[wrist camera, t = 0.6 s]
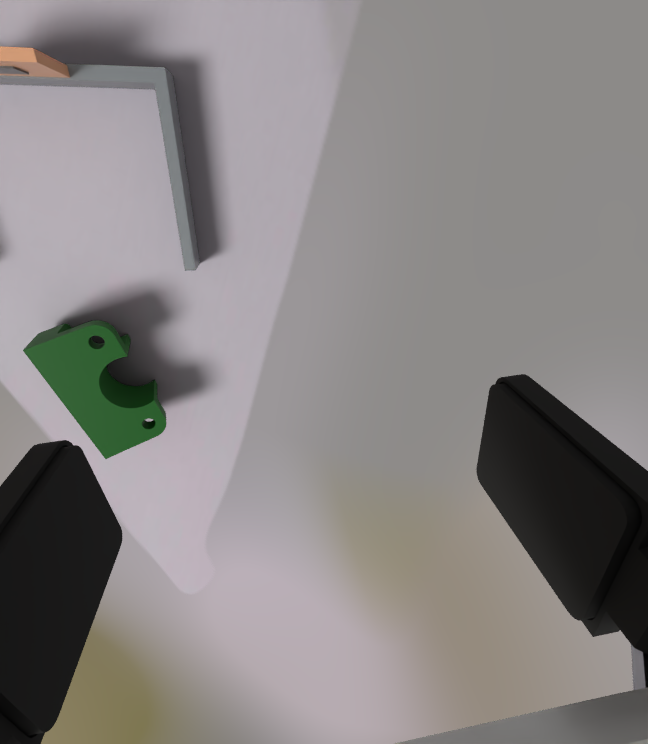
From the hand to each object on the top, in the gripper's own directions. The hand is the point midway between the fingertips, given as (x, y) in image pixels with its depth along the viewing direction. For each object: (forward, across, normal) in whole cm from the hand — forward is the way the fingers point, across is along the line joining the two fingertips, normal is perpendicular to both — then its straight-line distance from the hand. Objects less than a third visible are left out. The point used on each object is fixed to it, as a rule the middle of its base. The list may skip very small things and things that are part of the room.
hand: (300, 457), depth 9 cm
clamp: (+28, +16, +10) cm, 33 cm away
